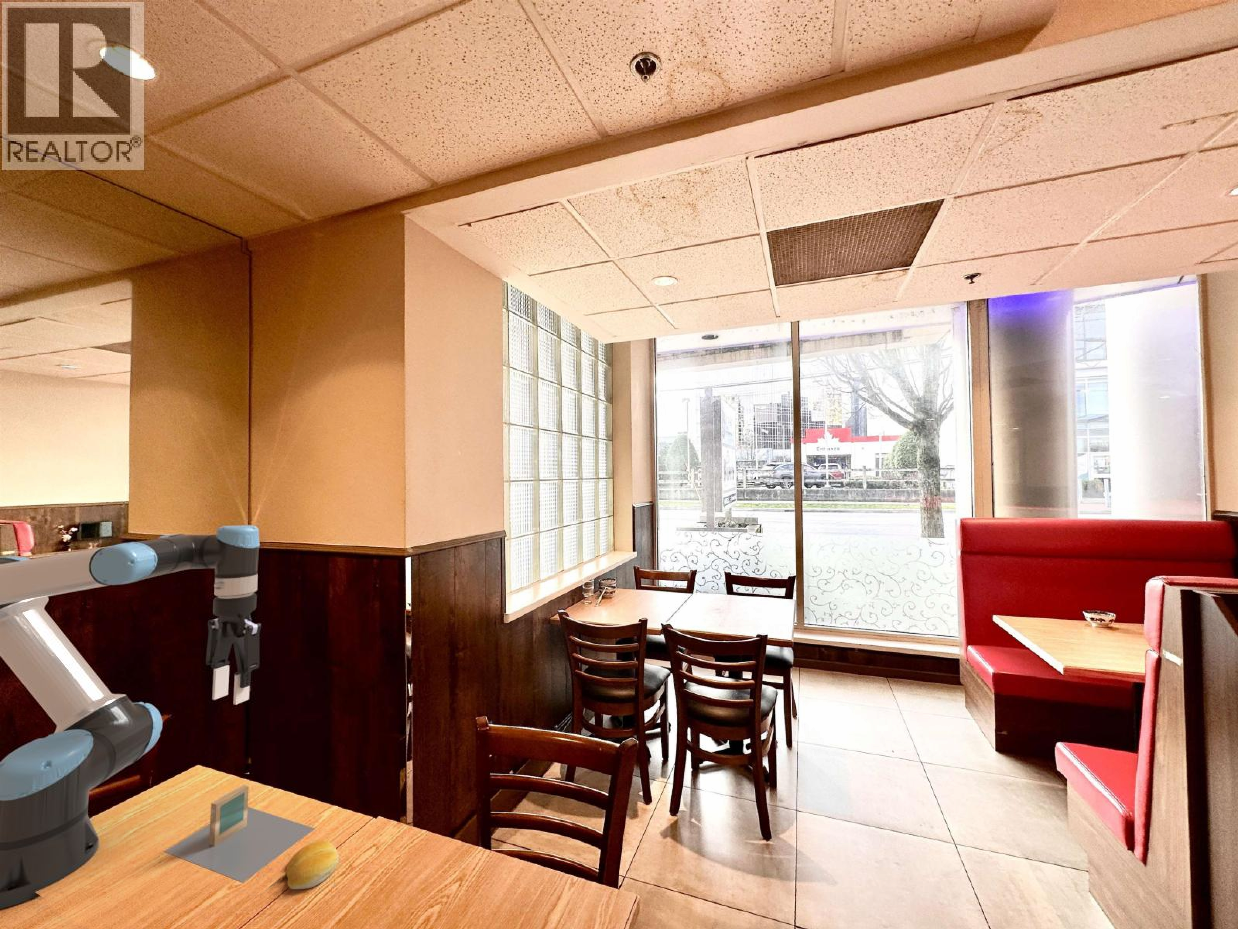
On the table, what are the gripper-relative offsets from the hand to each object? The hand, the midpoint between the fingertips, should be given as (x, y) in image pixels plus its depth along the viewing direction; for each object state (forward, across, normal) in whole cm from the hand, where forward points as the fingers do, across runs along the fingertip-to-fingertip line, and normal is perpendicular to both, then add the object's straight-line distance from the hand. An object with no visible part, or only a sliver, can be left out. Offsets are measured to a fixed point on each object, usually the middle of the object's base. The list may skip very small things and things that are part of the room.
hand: (230, 699), depth 104 cm
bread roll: (+25, +32, -5) cm, 41 cm away
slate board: (+25, +13, -5) cm, 29 cm away
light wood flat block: (+24, +9, -5) cm, 26 cm away
